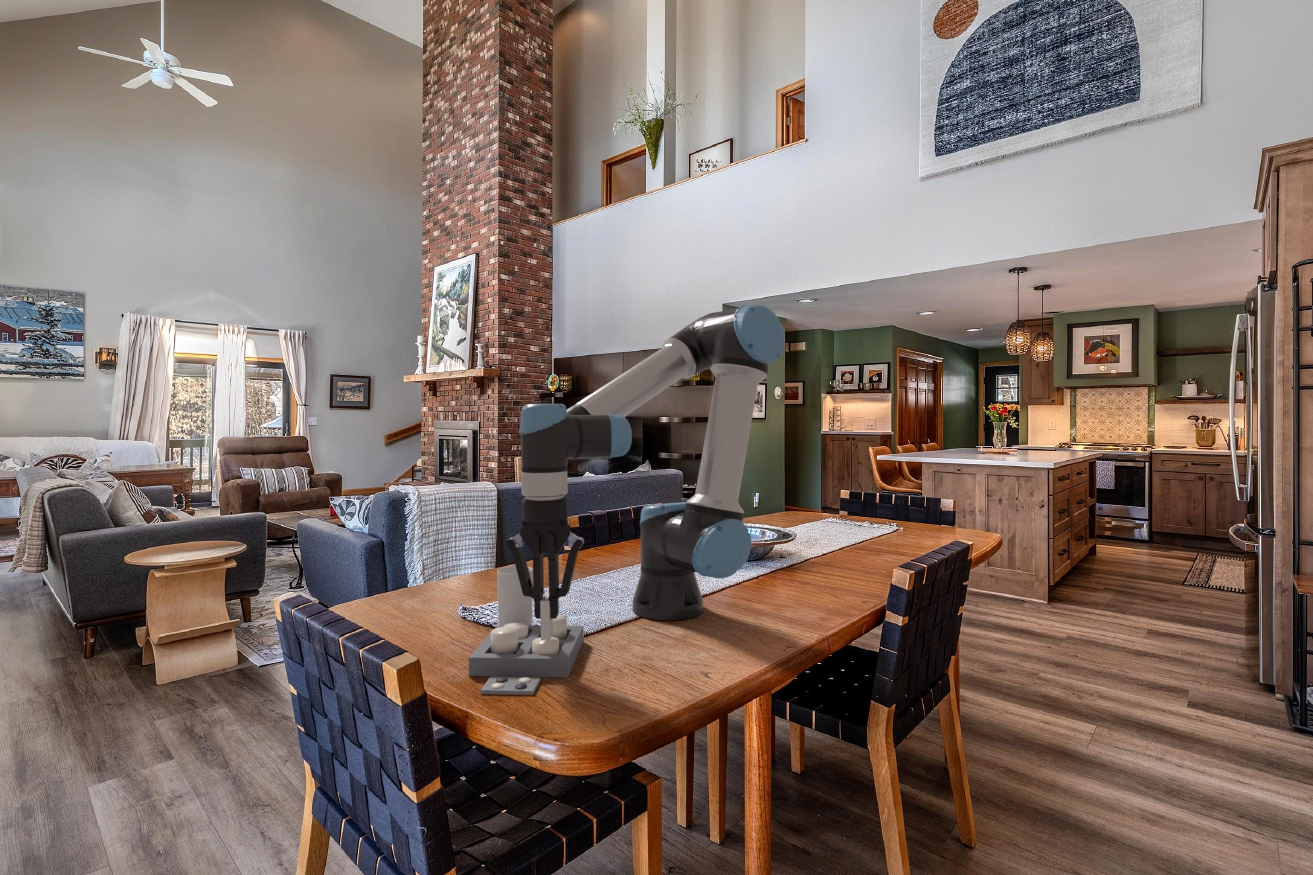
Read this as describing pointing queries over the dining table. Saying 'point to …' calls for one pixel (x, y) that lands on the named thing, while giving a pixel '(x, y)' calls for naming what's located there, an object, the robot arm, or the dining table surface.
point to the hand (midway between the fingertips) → (547, 636)
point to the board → (528, 657)
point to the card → (511, 685)
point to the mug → (513, 597)
